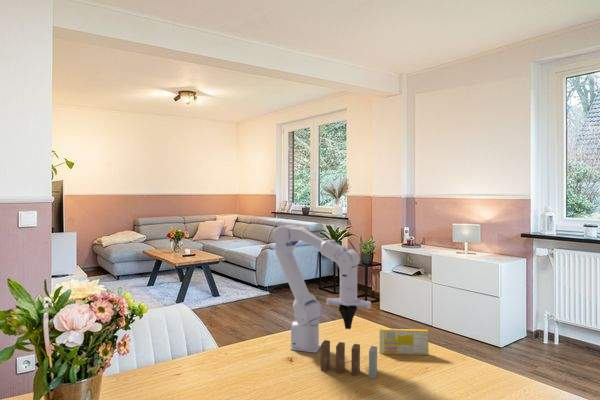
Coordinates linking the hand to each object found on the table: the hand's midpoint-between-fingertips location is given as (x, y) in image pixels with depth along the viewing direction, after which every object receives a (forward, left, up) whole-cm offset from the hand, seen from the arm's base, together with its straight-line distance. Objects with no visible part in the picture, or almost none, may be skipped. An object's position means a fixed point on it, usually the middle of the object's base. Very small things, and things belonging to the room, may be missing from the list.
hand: (348, 328), depth 136 cm
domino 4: (+10, -10, -10) cm, 17 cm away
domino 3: (+4, -10, -10) cm, 15 cm away
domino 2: (0, -10, -10) cm, 14 cm away
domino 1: (-5, -10, -10) cm, 15 cm away
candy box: (+17, +10, -10) cm, 22 cm away
